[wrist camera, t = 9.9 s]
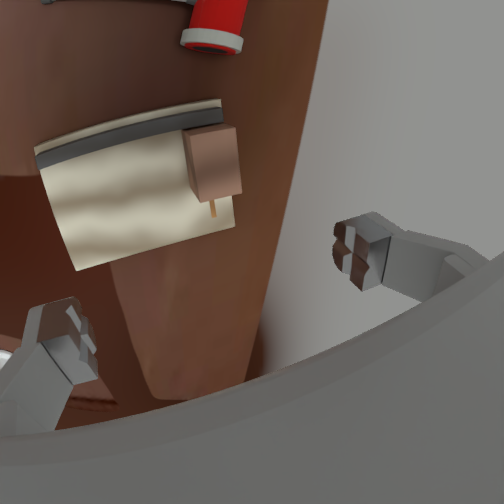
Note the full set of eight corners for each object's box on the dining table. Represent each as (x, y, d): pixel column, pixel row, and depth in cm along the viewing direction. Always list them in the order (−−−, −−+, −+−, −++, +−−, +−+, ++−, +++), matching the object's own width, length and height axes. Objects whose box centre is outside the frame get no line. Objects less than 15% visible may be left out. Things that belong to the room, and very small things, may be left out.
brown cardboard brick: (180, 128, 32) (189, 136, 28) (220, 121, 33) (235, 127, 29) (190, 187, 36) (200, 203, 32) (227, 178, 37) (242, 193, 33)
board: (38, 144, 27) (28, 151, 24) (215, 98, 33) (226, 100, 30) (77, 262, 36) (75, 280, 33) (230, 219, 42) (240, 233, 39)
